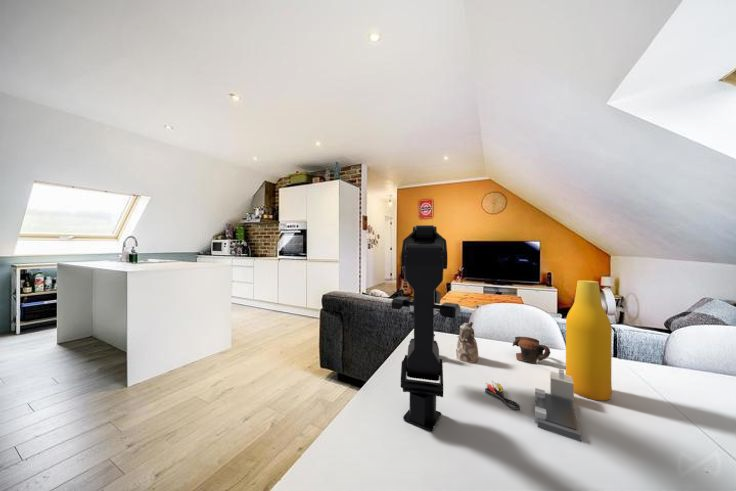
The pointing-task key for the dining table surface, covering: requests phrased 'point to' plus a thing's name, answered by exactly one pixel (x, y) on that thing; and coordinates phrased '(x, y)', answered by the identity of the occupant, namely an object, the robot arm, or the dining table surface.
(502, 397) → the composite cable
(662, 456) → the dining table surface
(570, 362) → the beer bottle
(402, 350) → the dining table surface
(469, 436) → the dining table surface
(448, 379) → the dining table surface
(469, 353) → the figurine
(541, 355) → the pottery mug
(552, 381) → the brick
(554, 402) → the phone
